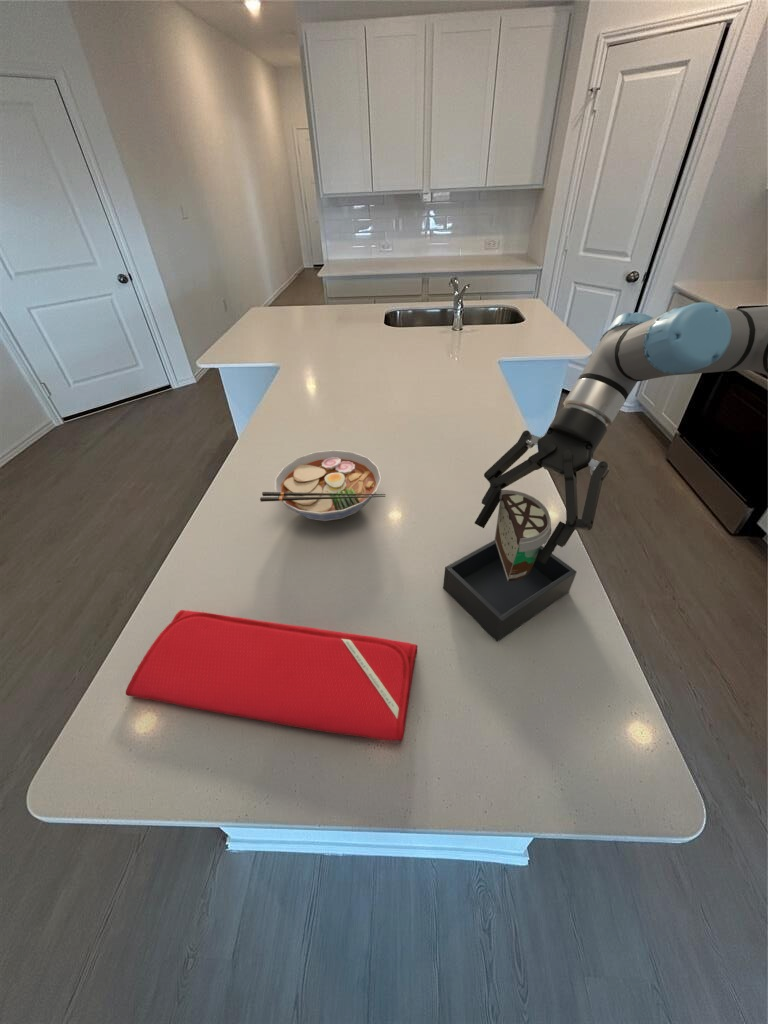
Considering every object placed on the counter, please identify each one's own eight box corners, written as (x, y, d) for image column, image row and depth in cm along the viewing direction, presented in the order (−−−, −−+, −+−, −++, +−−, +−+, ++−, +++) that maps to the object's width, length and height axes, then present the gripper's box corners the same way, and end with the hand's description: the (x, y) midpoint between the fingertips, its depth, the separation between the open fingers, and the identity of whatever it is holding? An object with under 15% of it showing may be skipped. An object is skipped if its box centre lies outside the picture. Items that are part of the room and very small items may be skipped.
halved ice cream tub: (550, 587, 67) (566, 539, 60) (510, 589, 67) (521, 541, 60) (528, 532, 76) (539, 486, 70) (492, 533, 76) (500, 487, 70)
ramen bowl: (388, 475, 107) (387, 446, 101) (385, 540, 89) (384, 510, 84) (286, 475, 108) (280, 446, 102) (264, 540, 90) (255, 510, 85)
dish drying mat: (184, 613, 77) (177, 599, 74) (417, 648, 70) (418, 635, 68) (128, 699, 65) (117, 687, 62) (402, 752, 58) (402, 740, 56)
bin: (568, 592, 78) (577, 571, 74) (496, 641, 71) (502, 621, 67) (512, 548, 87) (516, 527, 83) (442, 588, 79) (444, 566, 76)
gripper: (665, 454, 63) (582, 585, 65) (524, 403, 76) (459, 513, 78) (665, 435, 57) (573, 581, 59) (511, 383, 69) (441, 504, 72)
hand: (508, 543), depth 68 cm, fingers closed on halved ice cream tub, 11 cm apart
